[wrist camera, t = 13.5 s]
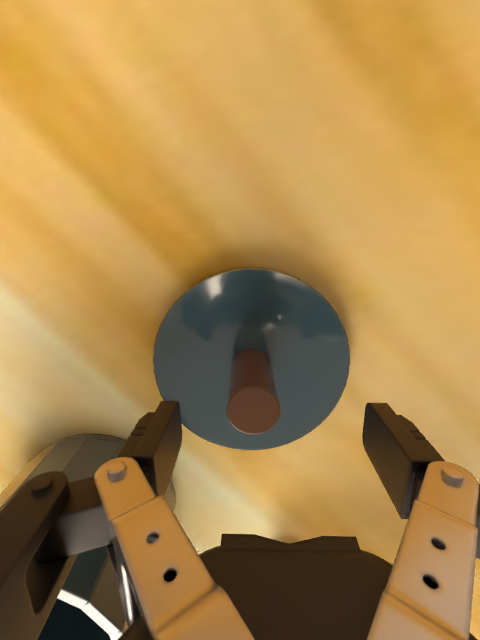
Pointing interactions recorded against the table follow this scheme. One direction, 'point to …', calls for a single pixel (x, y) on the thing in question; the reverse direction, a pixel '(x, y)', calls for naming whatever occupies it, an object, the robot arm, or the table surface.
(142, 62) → the table surface
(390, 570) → the robot arm
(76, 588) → the canister
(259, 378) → the lid
